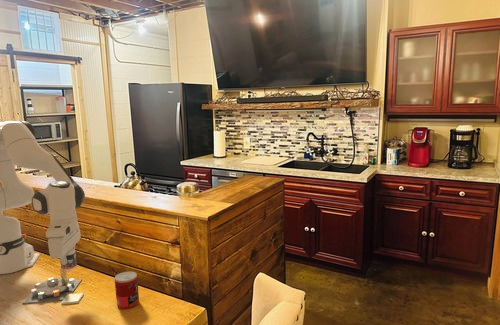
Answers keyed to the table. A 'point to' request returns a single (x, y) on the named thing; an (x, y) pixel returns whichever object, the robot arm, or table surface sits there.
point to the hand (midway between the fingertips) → (68, 260)
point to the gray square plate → (50, 299)
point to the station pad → (72, 298)
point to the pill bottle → (70, 260)
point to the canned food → (126, 290)
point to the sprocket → (53, 286)
